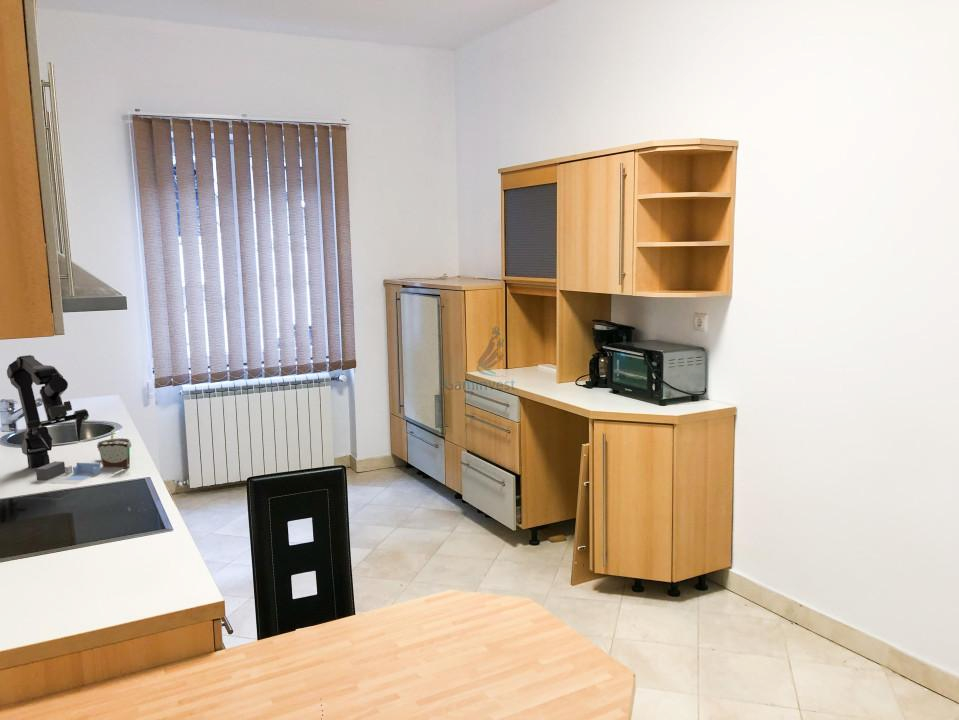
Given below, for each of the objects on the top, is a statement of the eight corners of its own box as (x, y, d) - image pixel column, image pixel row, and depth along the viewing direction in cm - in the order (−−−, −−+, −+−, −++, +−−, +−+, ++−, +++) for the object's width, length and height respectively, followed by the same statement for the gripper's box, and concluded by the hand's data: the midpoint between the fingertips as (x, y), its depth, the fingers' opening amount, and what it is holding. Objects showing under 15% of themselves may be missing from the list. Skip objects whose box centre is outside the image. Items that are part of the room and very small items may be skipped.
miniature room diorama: (25, 484, 266) (24, 472, 265) (52, 473, 278) (50, 461, 277) (76, 486, 262) (75, 473, 261) (101, 474, 274) (100, 463, 274)
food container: (140, 464, 287) (137, 437, 285) (131, 469, 281) (128, 442, 279) (109, 464, 288) (106, 438, 286) (99, 468, 282) (96, 442, 280)
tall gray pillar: (36, 480, 268) (35, 468, 267) (55, 472, 276) (54, 461, 276) (47, 480, 267) (45, 469, 266) (65, 472, 276) (64, 461, 275)
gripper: (22, 401, 254) (34, 446, 252) (84, 389, 265) (96, 431, 263) (21, 410, 263) (33, 453, 261) (81, 398, 274) (92, 439, 272)
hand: (64, 444), depth 264 cm, fingers open, 9 cm apart
